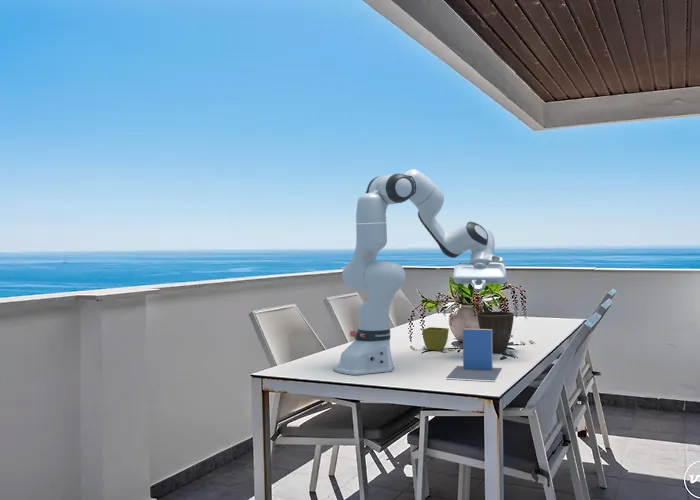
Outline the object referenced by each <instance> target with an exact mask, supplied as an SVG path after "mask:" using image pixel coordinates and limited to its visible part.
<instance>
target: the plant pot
mask: <svg viewBox="0 0 700 500" xmlns="http://www.w3.org/2000/svg"><path fill="white" fill-rule="evenodd" d="M476 316H477V321H478V326H479V329H492V352H493V354H503V353H506V352H507V349H508V346H509V343H510V339H511V334H512V329H513V325H514V317H515V313H514V312H510V311H482V312H477V313H476Z"/></svg>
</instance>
